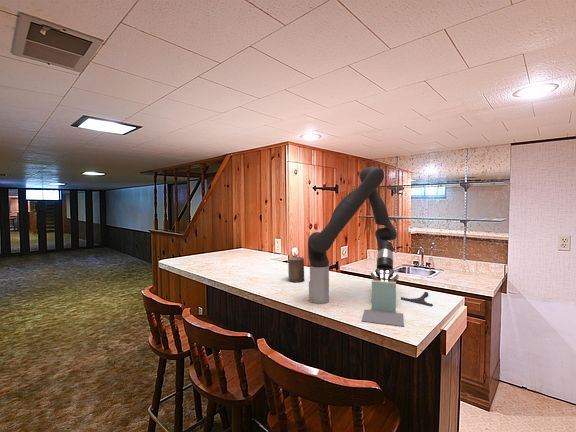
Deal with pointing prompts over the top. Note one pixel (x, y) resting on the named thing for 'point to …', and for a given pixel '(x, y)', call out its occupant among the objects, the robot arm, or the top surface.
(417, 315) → the top surface
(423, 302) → the bracket
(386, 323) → the mat
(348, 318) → the top surface
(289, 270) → the pillar candle
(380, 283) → the tile
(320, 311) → the top surface
